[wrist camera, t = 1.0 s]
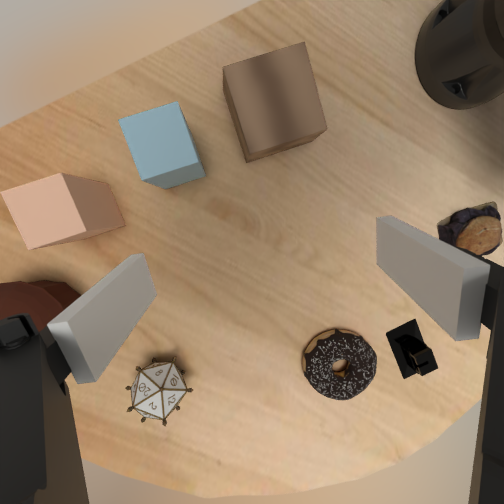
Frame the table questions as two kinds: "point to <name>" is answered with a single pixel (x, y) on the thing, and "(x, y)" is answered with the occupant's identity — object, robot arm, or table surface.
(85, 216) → the clay brick
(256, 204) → the table surface
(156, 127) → the blue brick
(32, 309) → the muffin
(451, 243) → the brown and black lump
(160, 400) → the game die
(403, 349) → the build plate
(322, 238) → the table surface
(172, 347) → the table surface
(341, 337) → the donut
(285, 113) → the base block
